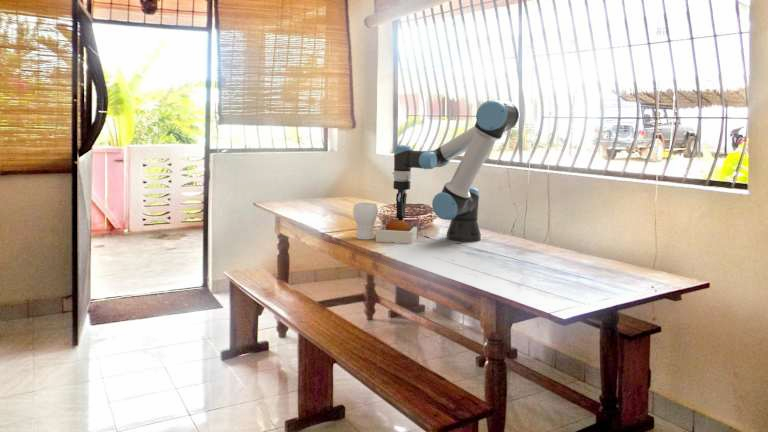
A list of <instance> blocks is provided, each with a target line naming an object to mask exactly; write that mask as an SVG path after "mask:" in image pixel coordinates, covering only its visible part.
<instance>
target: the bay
mask: <svg viewBox="0 0 768 432" xmlns="http://www.w3.org/2000/svg"><path fill="white" fill-rule="evenodd" d="M387 223H388V219H383V220H382V225H381V226H380V227H378V228H376V229H375V242H379V243H391V242H394V244H405V245H407V244H409V245H411V244H414V242H415V240H416V239H417V238H419V237H418V236H419V221H416V220H415V221H414V222H413V227H412V228H410V229H409V231H393V230H386V225H387Z"/></svg>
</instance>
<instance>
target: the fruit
mask: <svg viewBox="0 0 768 432" xmlns="http://www.w3.org/2000/svg"><path fill="white" fill-rule="evenodd" d="M386 230H393V231H410V226H409V224H408V222H407V221H405V220H404V221H401V220H398V219H392V220H390V221H388V222H387V225H386Z"/></svg>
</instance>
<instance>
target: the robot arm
mask: <svg viewBox="0 0 768 432" xmlns="http://www.w3.org/2000/svg"><path fill="white" fill-rule="evenodd" d="M475 114H476V115H475V118H476V122H475V124H474V126H472V127H471V128H469V129H467V130H465V131H464V132H462V133H461V134H458V136H456V137H454V138H452V139H451V140H449V141H447V142H446V143H444V144H442V145H441V146H440V147H437V148H436V149H434V150H413V149H412V146H411V145H407V144H406V145H403V144H402V145H400V144H399V145H396V146H395V147H394V154H393V159H394V160H393V162H394V163H393V172H392V175H393V186H392V187H393V190H397V193H396V197H395V199H396V201H395V202H396V217H395V219H397V220H401V221H405V219H406V218H407V216H406V206H407V198H408V195H407V192H406V191H407V190H410V189H411V180H412V179H411V178H412V168H414V169H423V170H433V169H434V168H443V167H445V166H447V165H448V163H449V162H451V161H452V160H453V159H456V158H457V157H458V156H460V155H462V154H464V155H463V156H462V158H461V160H460V162H459V164H458V166H457V168H456V171H455V172H454V174H453V176H452V178H451V180H450V181H449V182H446V183H445V184H444V185H443V188H442V190H441V191H440V192H438V193H437V194H436V195H435V196H434V197H433V199H432V202H431V203H432V205H431V206H432V209H433V212H434V214H435V216H436V217H437V218H439V219H441V220H445V221H446V220H448V221H450V224H449V226H448V229H447V231H446V239H447V240H451V241H455V242H478V241H480V240H481V238H482V234H481V231H480V226H479V223H478V222H479V221H478V219H479V217H478V216H479V198H480V195H479V188H475V187H472V186H473V184H474V182H475V180H476V178H477V176H478V175H479V173H480V170H481V168H482V167H483V165H484V163H485V161H486V160H487V157H488V155H489V153H490V151H491V150H492V147H493V146H494V144H495V141H498V140H501V138H502V136H503V135H504V133H505V132H507V131H509V130H511V129H513V128H514V127H515V126H516V125H517V124H518V123H519V120H520V116H521V115H520V114H521V112H520V110H519V107H518V106H517V105H516V104H515V103H514V102H512V101H508V100H500V99H490V100H486V101H484V102H483V103H482V104H481V105H480V106H479V107H478V109H477V111H476V113H475Z"/></svg>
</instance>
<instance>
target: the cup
mask: <svg viewBox="0 0 768 432" xmlns="http://www.w3.org/2000/svg"><path fill="white" fill-rule="evenodd" d="M378 212H379V211H378V205H377V204H376V203H374V202H356V203H354V205H353V209H352V215H353V219H354V221H355V223H356V229H357V230H356V235H355V236H356V237H355V238H356V239H357V240H372V239H374V238H375V237H374V224H375V222H376V220H377V217H378Z"/></svg>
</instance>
